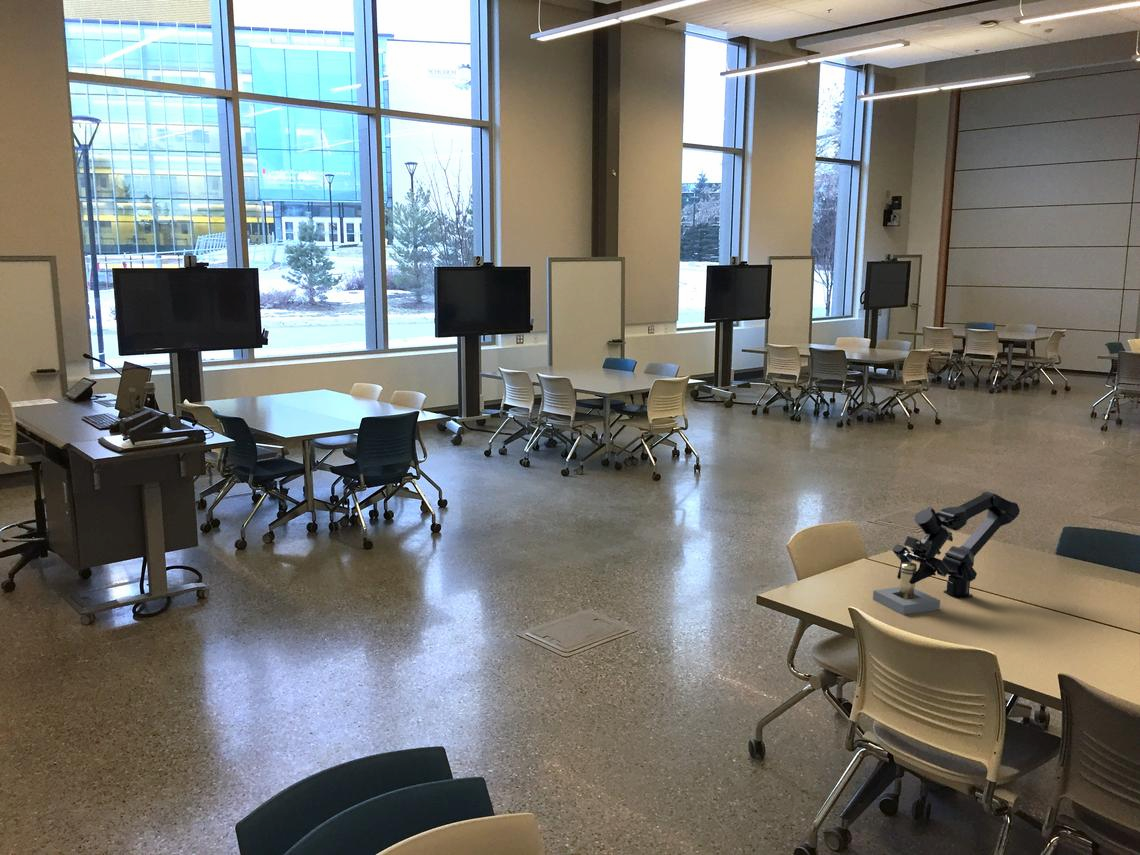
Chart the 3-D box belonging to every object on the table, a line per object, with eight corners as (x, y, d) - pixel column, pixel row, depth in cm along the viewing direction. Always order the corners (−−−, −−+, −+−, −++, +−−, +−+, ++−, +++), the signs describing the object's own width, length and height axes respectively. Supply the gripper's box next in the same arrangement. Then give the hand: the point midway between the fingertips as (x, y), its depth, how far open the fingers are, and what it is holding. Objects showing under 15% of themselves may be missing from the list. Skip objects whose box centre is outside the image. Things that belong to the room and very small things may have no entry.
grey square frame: (907, 594, 288) (908, 585, 288) (939, 609, 275) (940, 600, 275) (872, 599, 283) (873, 590, 283) (903, 614, 271) (904, 605, 270)
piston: (911, 601, 281) (914, 562, 279) (915, 606, 277) (918, 567, 275) (896, 600, 282) (899, 561, 280) (900, 606, 277) (903, 566, 275)
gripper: (898, 520, 285) (870, 557, 282) (944, 535, 269) (915, 575, 266) (914, 540, 290) (886, 577, 287) (961, 556, 273) (932, 596, 271)
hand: (904, 580), depth 278 cm, fingers open, 5 cm apart
